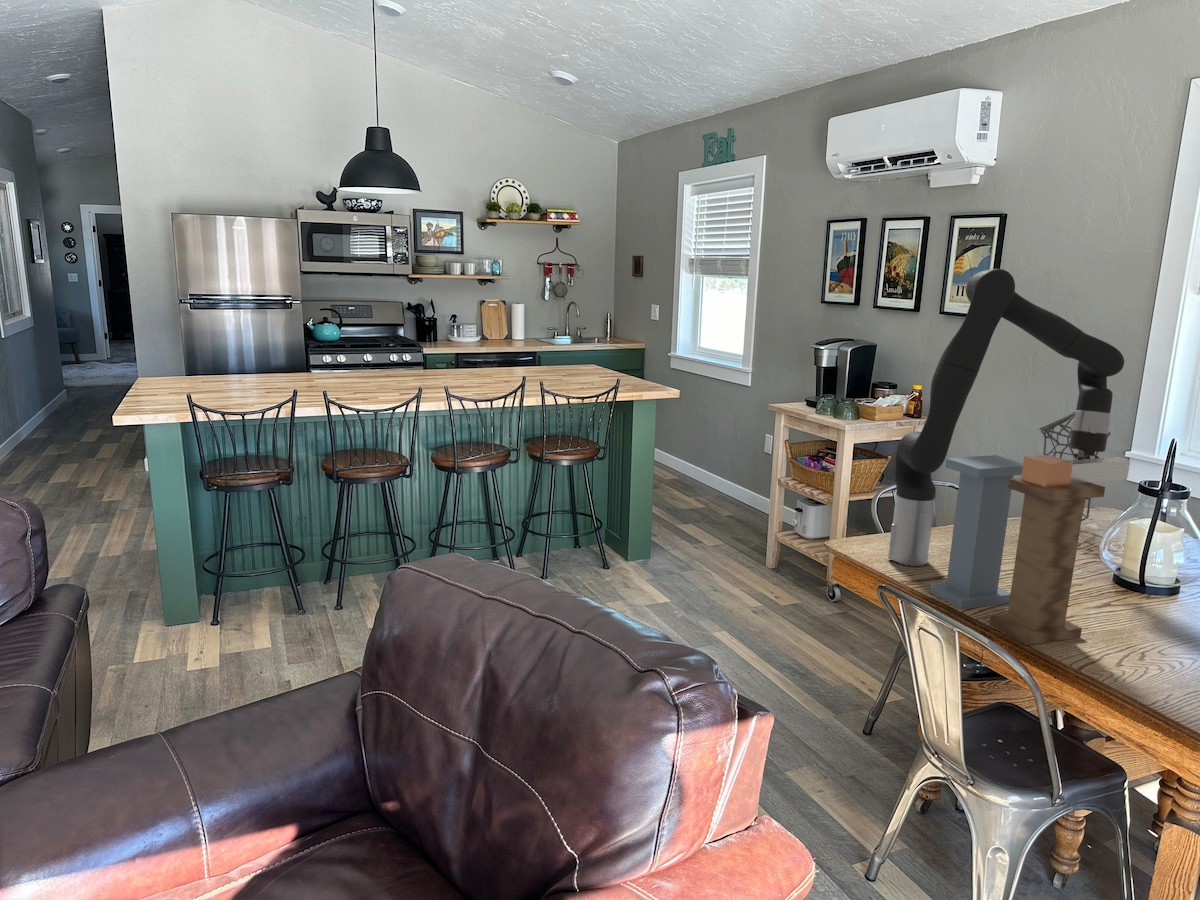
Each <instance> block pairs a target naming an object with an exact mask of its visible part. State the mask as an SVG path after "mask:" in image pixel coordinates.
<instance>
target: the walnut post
mask: <svg viewBox="0 0 1200 900" xmlns="http://www.w3.org/2000/svg"><path fill="white" fill-rule="evenodd" d="M1008 488H1009V489H1012V490H1011V491H1015V492H1019V493H1021V494H1023V495H1024V497H1023V504H1022V510H1021V511H1022V512H1021V516H1020V517H1021V518H1020V523H1019V525H1020V526H1019V531H1018V532H1019V533H1018V539H1017V545H1016V552H1015V561H1014V566H1013V574H1012V580H1011V581H1012V582H1011V588H1010V593H1011V594H1010V601H1009V603H1008V608H1007V613H1003V614H1002V613H1001V614H995V615H990V616H989V622H988V623H989V624H988V625H989V626H991V627H993V628H994V629H996V630H998V631H1000V632H1001V633H1003V634H1004V635H1007V636H1009V637H1010V638H1012V639H1014V640H1015V641H1018V642H1019V643H1020V644H1024V645H1025V646H1033V645H1040V644H1046V643H1051V642H1058V641H1065V640H1070V639H1071V640H1073V639H1077V638H1078V639H1079V638H1081V636H1082V630H1083V627H1081V626H1079V625H1077V624H1074V623H1072V622H1070V621H1068V620H1066V619H1067V612H1068V606H1069V601H1070V596H1071V595H1070V594H1071V587H1072V582H1073V578H1074V577H1073V575H1074V570H1075V563H1076V557H1077V550H1078V545H1079V538H1080V532H1081V525H1082V521H1081V520H1082V519H1083V515H1082V514H1084V510H1083V508H1084V509H1085V505H1084V502H1085V503H1086V500H1085V498H1091V499H1092V498H1093V499H1094V498H1104V497H1105V491H1106V486H1103V485H1100V484H1096V483H1094V482H1093V483H1077V484H1070V485H1069V487H1059V488H1047V489H1045V488H1042V487H1039V486H1036V485H1033V484H1029V483H1026V482H1023V481H1021V477H1015V478H1014V477H1013V478H1011V479H1009V484H1008Z"/></svg>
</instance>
